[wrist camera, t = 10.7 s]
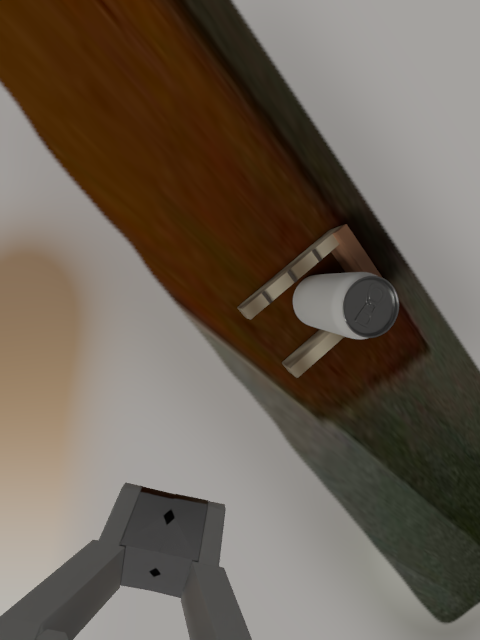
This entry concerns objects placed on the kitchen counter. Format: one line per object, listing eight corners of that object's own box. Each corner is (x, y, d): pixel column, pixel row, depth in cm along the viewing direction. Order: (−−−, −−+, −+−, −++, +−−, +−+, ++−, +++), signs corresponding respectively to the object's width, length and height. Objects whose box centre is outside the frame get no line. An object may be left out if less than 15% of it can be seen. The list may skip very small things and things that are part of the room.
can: (348, 289, 42) (415, 291, 31) (325, 335, 42) (383, 354, 31) (306, 265, 41) (359, 257, 29) (282, 312, 41) (326, 323, 29)
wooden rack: (288, 371, 42) (300, 380, 38) (237, 307, 40) (244, 309, 36) (375, 295, 43) (395, 296, 39) (329, 229, 41) (346, 224, 37)
